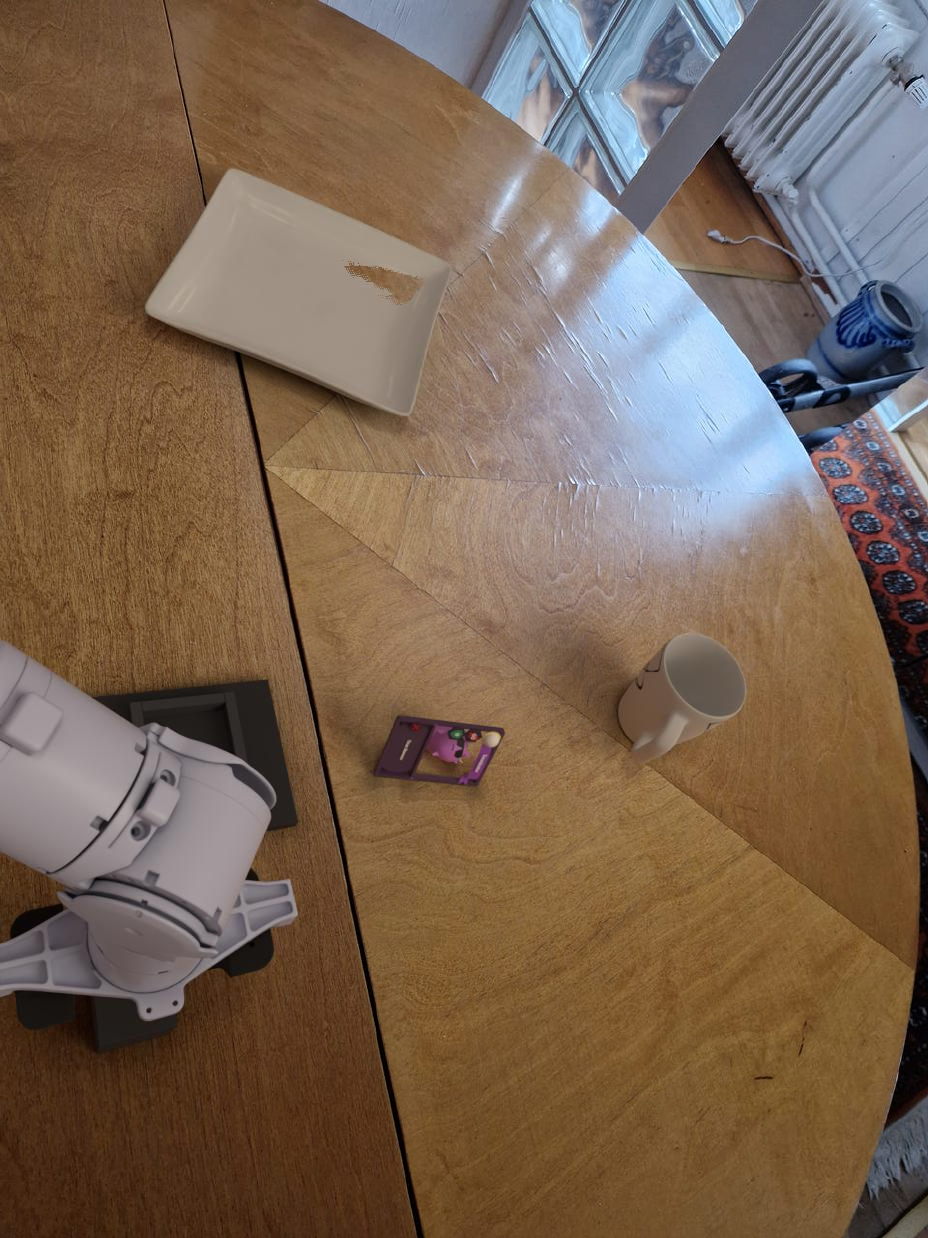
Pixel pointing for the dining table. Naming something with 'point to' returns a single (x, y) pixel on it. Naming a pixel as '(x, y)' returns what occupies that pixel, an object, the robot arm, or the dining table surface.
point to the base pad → (221, 728)
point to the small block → (124, 1024)
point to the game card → (435, 748)
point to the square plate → (303, 292)
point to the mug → (680, 695)
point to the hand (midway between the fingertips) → (139, 967)
